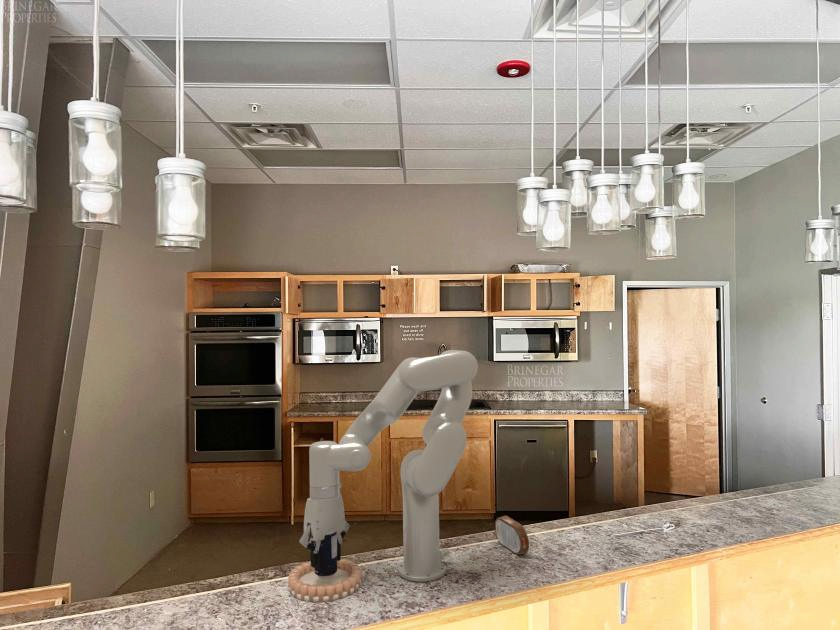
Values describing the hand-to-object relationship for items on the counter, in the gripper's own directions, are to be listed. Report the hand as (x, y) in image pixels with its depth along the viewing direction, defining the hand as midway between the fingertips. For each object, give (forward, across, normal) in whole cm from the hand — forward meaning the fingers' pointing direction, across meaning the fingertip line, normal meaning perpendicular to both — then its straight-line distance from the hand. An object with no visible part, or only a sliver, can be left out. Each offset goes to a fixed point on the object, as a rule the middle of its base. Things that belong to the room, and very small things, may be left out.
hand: (325, 562), depth 137 cm
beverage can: (+3, 0, 0) cm, 3 cm away
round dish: (+5, 0, 0) cm, 5 cm away
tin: (+6, -49, +24) cm, 55 cm away
